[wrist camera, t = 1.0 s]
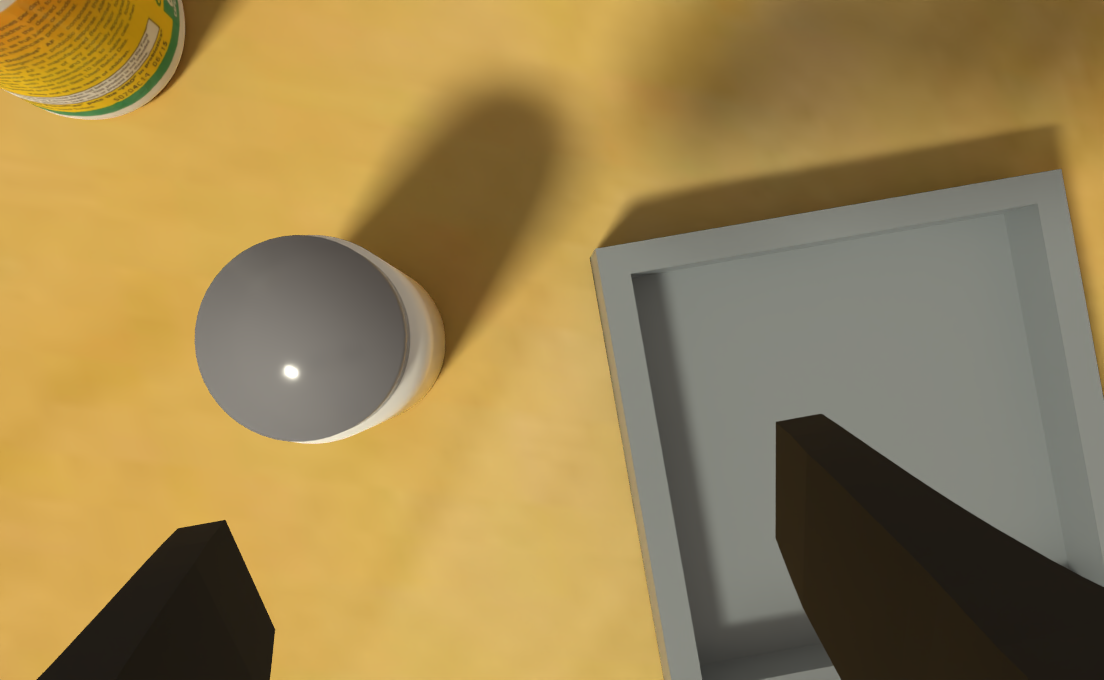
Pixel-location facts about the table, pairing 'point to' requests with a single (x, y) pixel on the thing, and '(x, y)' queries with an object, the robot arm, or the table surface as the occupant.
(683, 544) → the tray
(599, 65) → the table surface
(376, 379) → the cylinder
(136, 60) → the supplement bottle
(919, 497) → the robot arm
